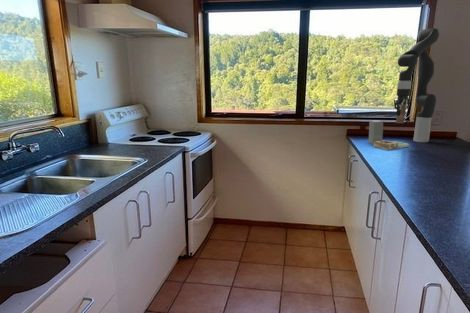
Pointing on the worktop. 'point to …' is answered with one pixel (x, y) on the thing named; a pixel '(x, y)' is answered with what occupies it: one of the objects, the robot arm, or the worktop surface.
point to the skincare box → (375, 131)
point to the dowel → (401, 114)
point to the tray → (402, 144)
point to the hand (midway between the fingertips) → (400, 115)
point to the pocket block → (386, 145)
